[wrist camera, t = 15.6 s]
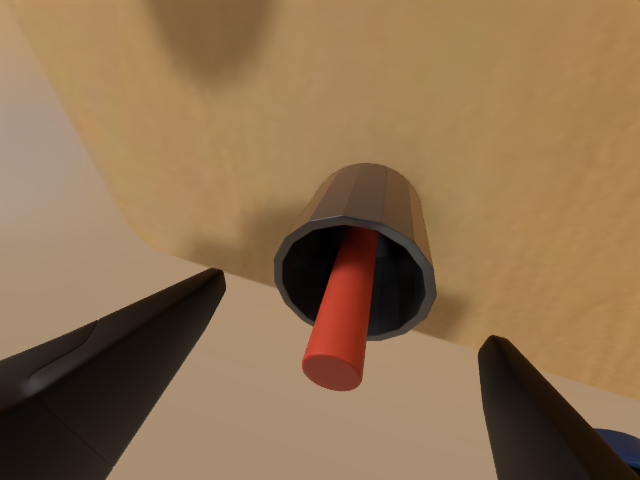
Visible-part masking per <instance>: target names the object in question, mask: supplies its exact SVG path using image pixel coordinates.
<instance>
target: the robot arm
mask: <svg viewBox="0 0 640 480" xmlns="http://www.w3.org/2000/svg"><path fill="white" fill-rule="evenodd" d="M225 291H226V283H225V277H224V272H223V271H222V270H220V269H216V268H210V269H207V270H205V271H203V272H201V273H199V274H196V275H194V276H192V277H190V278H188V279H185V280H183V281H181V282H179V283H177V284H175V285H173V286H170V287H168V288H166V289H164V290H162V291H159V292H157V293H155V294H153V295H151V296H149V297H146V298H144V299H142V300H140V301H137V302H135V303H133V304H131V305H129V306H127V307H124V308H122V309H120V310H118V311H116V312H113V313H111V314H109V315H107V316H105V317H103V318H100V319H99V320H96V321H94V322H91V323H89V324H87V325H85V326H83V327H80V328H78V329H76V330H74V331H72V332H69V333H67V334H65V335H62V336H60V337H58V338H55V339H53V340H51V341H48V342H46V343H43V344H41V345H38V346H36V347H33V348H31V349H28V350H26V351H23V352H21V353H18V354H16V355H13V356H11V357H8V358H6V359H3V360H1V361H0V480H106V478H107V477H108V475H109V474H110V472H111V471H112V469H113V467H114V466H115V464H116V463H117V461H118V460H119V458H120V457H121V455H122V454H123V452H124V451H125V449H126V448H127V446H128V445H129V443H130V442H131V440H132V439H133V437H134V436H135V434H136V433H137V431H138V430H139V428H140V427H141V425H142V424H143V422H144V421H145V419H146V417H147V416H148V415H149V413H150V412H151V410H152V409H153V407H154V406H155V404H156V403H157V401H158V400H159V398H160V397H161V395H162V394H163V392H164V391H165V389H166V388H167V386H168V385H169V383H170V382H171V380H172V379H173V377H174V376H175V374H176V373H177V371H178V370H179V368H180V367H181V365H182V364H183V362H184V361H185V359H186V357H187V356H188V355H189V353H190V352H191V350H192V349H193V347H194V346H195V344H196V343H197V341H198V340H199V338H200V337H201V335H202V334H203V332H204V330H205V329H206V327H207V325H208V324H209V322H210V320H211V318H212V316H213V314H214V312H215V310H216V308H217V306H218V304H219V303H220V300H221V299H222V297H223V295H224V293H225ZM478 363H479V374H480V384H481V394H482V403H483V410H484V415H485V420H486V425H487V430H488V435H489V439H490V444H491V449H492V454H493V459H494V463H495V468H496V473H497V478H498V480H640V469H638V468H634V467H631V466H628V465H627V464H626V463H625V461H624V460H623V459H622V458H621V457H620V456H619V455H618V454H617V453H616V452H615V451H614V450H613V449H612V448H611V447H610V446H609V445H608V444H607V443H606V442H605V441H604V439H603V438H602V437H601V436H600V435H599V434H598V433H597V432H596V431H595V430H594V429H593V428H592V427H591V426H590V425H589V424H588V423H587V422H586V421H585V420H584V419H583V417H582V416H581V415H580V414H579V413H578V412H577V411H576V410H575V409H574V408H573V407H572V406H571V405H570V404H569V403H568V402H567V401H566V400H565V399H564V398H563V397H562V395H561V394H560V393H559V392H558V391H557V390H556V389H555V388H554V387H553V386H552V385H551V384H550V383H549V382H548V381H547V380H546V379H545V378H544V377H543V376H542V375H541V373H540V372H539V371H538V370H537V369H536V368H535V367H534V366H533V365H532V364H531V363H530V362H529V361H528V360H527V359H526V358H525V357H524V356H523V355H522V354H521V353H520V352H519V350H518V349H517V348H516V347H515V346H514V345H513V344H512V343H511V342H510V341H509V340H508V339H506V338H504V337H499V336H495V335H491V336H489V337H488V339H487V340H486V341H485V343H484V344H483V345H482V347H481V348H480V350H479V352H478Z"/></svg>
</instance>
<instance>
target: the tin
mask: <svg viewBox="0 0 640 480" xmlns="http://www.w3.org/2000/svg"><path fill="white" fill-rule="evenodd" d="M347 225H348V226H354V227H359V228H364V229H369V230H374V231H378V232H379V233H378V242H377V251H376V260H375V269H374V278H373V287H372V296H371V305H370V314H369V323H368V331H367V340H366V341H382V340H385V339H389V338H392V337H396V336H399V335H403V334H405V333H407V332H408V331H410V330H411V329H412V328H414V327H415V326H416V325H418V324H419V323H420V322H422V321H423V320H424V319H425V318H426V317H427V315H428V313H429V311H430V309H431V306H432V304H433V302H434V300H435V298H436V295H437V292H436V284H435V276H434V268H433V263H432V258H431V253H430V247H429V242H428V237H427V232H426V227H425V222H424V217H423V212H422V206H421V201H420V198H419V197H418V195H417V193H416V191H415V189H414V187H413V186H412V185H411V184H410V182H409V181H408V180H407V179H406V178H405V177H404V176H402V175H401V174H399V173H398V172H396V171H395V170H393V169H391V168H388V167H385V166H382V165H378V164H370V163H363V164H355V165H351V166H347V167H344V168H342V169H340V170H338V171H337V172H335V173H334V174H332V175H331V176H330V177H329V178H328V179H327V180H326V181H324V182H323V183H322V184H321V186H320V187H319V189H318V190H317V192H316V193H315V195H314V196H313V197H312V199H311V200H310V202H309V203H308V205H307V206H306V208H305V209H304V211H303V212H302V213H301V215H300V216H299V218H298V219H297V221H296V222H295V224H294V225H293V226H292V228H291V229H290V231H289V232H288V234H287V235H286V237H285V238H284V240H283V242H282V244H281V246H280V248H279V250H278V252H277V253H276V255H275V257H274V280H275V284H276V286H277V288H278V290H279V292H280V294H281V296H282V298H283V300H284V302H285V303H286V305H287V306H288V307H290V308H291V309H292V310H293V312H295V314H297V316H298V317H299V318H301V319H302V320H303V321H304V322H306V323H308V324H310V325H311V326H313V327H314V324H315V321H316V318H317V315H318V312H319V309H320V306H321V303H322V300H323V297H324V294H325V291H326V288H327V285H328V282H329V278H330V275H331V272H332V269H333V266H334V263H335V260H336V257H337V254H338V251H339V248H340V245H341V242H342V239H343V236H344V233H345V230H346V227H347Z"/></svg>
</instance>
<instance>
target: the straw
mask: <svg viewBox="0 0 640 480" xmlns="http://www.w3.org/2000/svg"><path fill="white" fill-rule="evenodd" d="M378 233H379V232H378V231H374V230H369V229H364V228H359V227H354V226H348V225H347V227H346V230H345V233H344V236H343V239H342V242H341V245H340V248H339V251H338V254H337V257H336V260H335V263H334V266H333V269H332V272H331V275H330V278H329V282H328V285H327V288H326V291H325V294H324V297H323V300H322V303H321V306H320V309H319V312H318V315H317V318H316V321H315V324H314V327H313V330H312V333H311V336H310V340H309V342H308V346H307V348H306V351H305V354H304V358H303V360H302V369H303V372H304V373H305V375H306V376H307V377H308V378H309V379H310V380H311V381H313V382H314V383H316V384H317V385H320V386H321V387H324V388H327V389H330V390H335V391H350V390H353V389H355V388H357V387H358V386H359V385H360V383H361V381H362V376H363V367H364V358H365V349H366V340H367V331H368V323H369V314H370V305H371V296H372V287H373V278H374V269H375V260H376V251H377V242H378Z"/></svg>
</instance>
